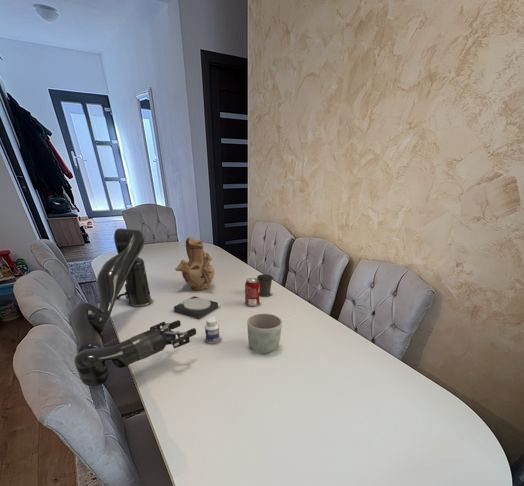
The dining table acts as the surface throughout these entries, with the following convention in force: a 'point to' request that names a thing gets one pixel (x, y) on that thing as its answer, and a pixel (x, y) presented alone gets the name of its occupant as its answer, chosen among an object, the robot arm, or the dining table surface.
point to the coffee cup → (265, 284)
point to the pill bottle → (212, 330)
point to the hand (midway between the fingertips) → (187, 326)
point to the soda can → (252, 292)
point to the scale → (196, 307)
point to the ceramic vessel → (196, 265)
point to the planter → (264, 332)
